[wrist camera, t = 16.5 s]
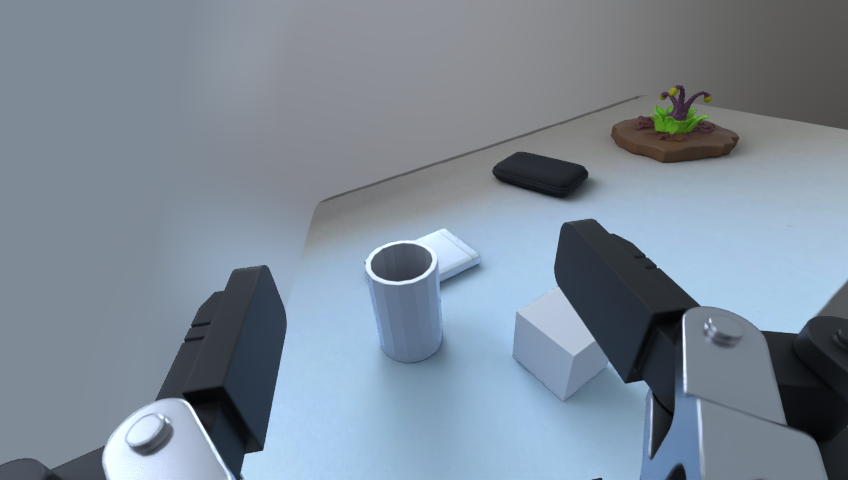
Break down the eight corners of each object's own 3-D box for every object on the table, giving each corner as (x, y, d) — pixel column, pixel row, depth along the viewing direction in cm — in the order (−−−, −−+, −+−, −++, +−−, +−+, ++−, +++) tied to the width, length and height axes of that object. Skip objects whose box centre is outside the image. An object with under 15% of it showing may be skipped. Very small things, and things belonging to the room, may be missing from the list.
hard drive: (394, 295, 42) (480, 253, 47) (363, 259, 48) (443, 226, 53) (396, 305, 43) (480, 264, 48) (365, 269, 49) (443, 235, 54)
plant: (592, 135, 82) (602, 81, 75) (665, 121, 86) (681, 68, 79) (667, 170, 66) (688, 104, 59) (753, 150, 70) (781, 86, 63)
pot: (372, 357, 37) (354, 280, 31) (391, 311, 42) (379, 238, 36) (435, 367, 36) (428, 288, 30) (447, 318, 41) (443, 242, 35)
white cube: (563, 402, 32) (573, 356, 28) (512, 356, 36) (516, 311, 33) (607, 365, 34) (621, 320, 31) (554, 326, 39) (562, 282, 35)
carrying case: (593, 178, 65) (519, 160, 74) (597, 162, 63) (520, 145, 72) (565, 203, 59) (487, 180, 68) (567, 185, 57) (487, 164, 66)
